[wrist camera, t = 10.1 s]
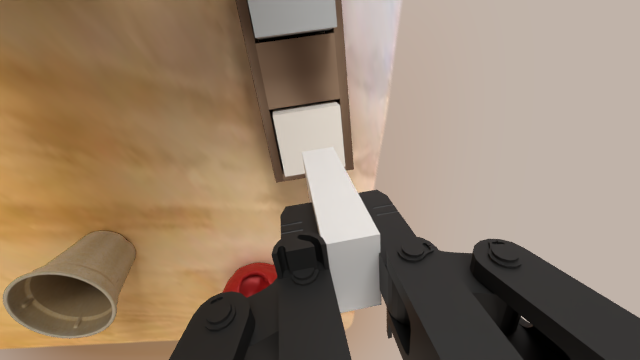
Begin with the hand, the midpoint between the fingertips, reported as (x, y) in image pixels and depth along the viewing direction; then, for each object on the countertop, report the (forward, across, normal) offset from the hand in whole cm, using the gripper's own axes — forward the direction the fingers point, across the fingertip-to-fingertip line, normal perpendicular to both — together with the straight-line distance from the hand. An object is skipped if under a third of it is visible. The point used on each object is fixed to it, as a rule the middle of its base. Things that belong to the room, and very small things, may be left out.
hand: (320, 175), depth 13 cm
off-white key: (+17, +1, -3) cm, 17 cm away
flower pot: (+19, -26, -15) cm, 36 cm away
